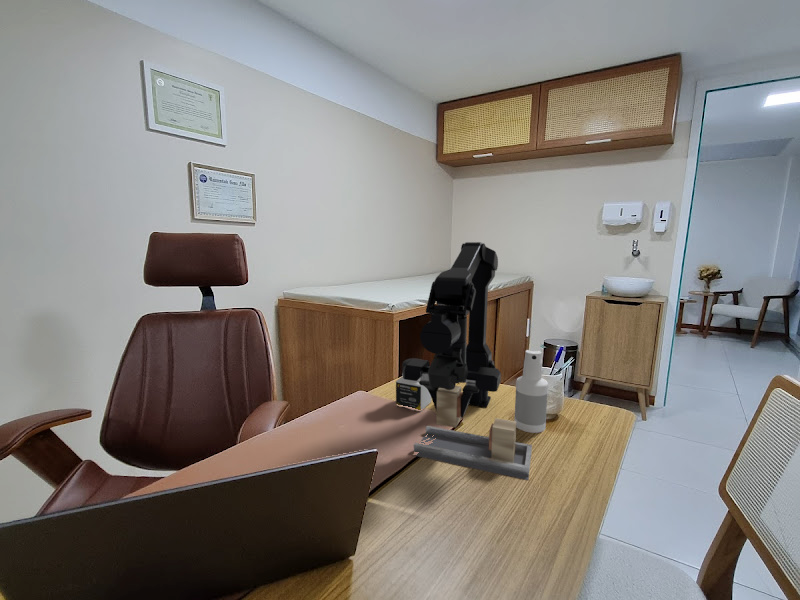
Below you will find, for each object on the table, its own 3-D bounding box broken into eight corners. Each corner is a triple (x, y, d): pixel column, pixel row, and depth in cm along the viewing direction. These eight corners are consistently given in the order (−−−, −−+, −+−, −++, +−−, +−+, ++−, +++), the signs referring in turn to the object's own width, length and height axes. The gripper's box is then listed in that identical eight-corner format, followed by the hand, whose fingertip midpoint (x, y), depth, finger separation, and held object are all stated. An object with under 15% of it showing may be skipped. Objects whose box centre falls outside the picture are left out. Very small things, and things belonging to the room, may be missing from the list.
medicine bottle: (395, 406, 99) (395, 362, 97) (407, 397, 105) (407, 354, 103) (420, 412, 95) (420, 366, 93) (431, 402, 101) (432, 358, 100)
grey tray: (426, 432, 84) (426, 425, 84) (531, 451, 76) (531, 445, 76) (413, 451, 77) (413, 444, 76) (528, 476, 68) (529, 468, 68)
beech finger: (436, 424, 76) (436, 390, 75) (441, 415, 80) (442, 383, 79) (459, 428, 75) (459, 394, 74) (463, 419, 78) (464, 387, 77)
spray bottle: (515, 432, 85) (518, 355, 82) (513, 419, 92) (516, 346, 89) (547, 436, 83) (552, 357, 81) (543, 422, 90) (547, 348, 87)
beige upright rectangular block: (491, 450, 77) (492, 417, 76) (514, 454, 75) (516, 421, 74) (488, 460, 73) (489, 426, 72) (512, 465, 72) (514, 430, 71)
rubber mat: (428, 431, 86) (428, 429, 86) (531, 451, 77) (531, 449, 77) (411, 457, 76) (411, 454, 75) (528, 482, 67) (528, 480, 67)
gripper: (391, 345, 71) (392, 424, 73) (493, 356, 64) (490, 442, 66) (412, 332, 81) (412, 401, 83) (502, 340, 74) (499, 415, 77)
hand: (450, 414), depth 77 cm, fingers closed on beech finger, 5 cm apart
